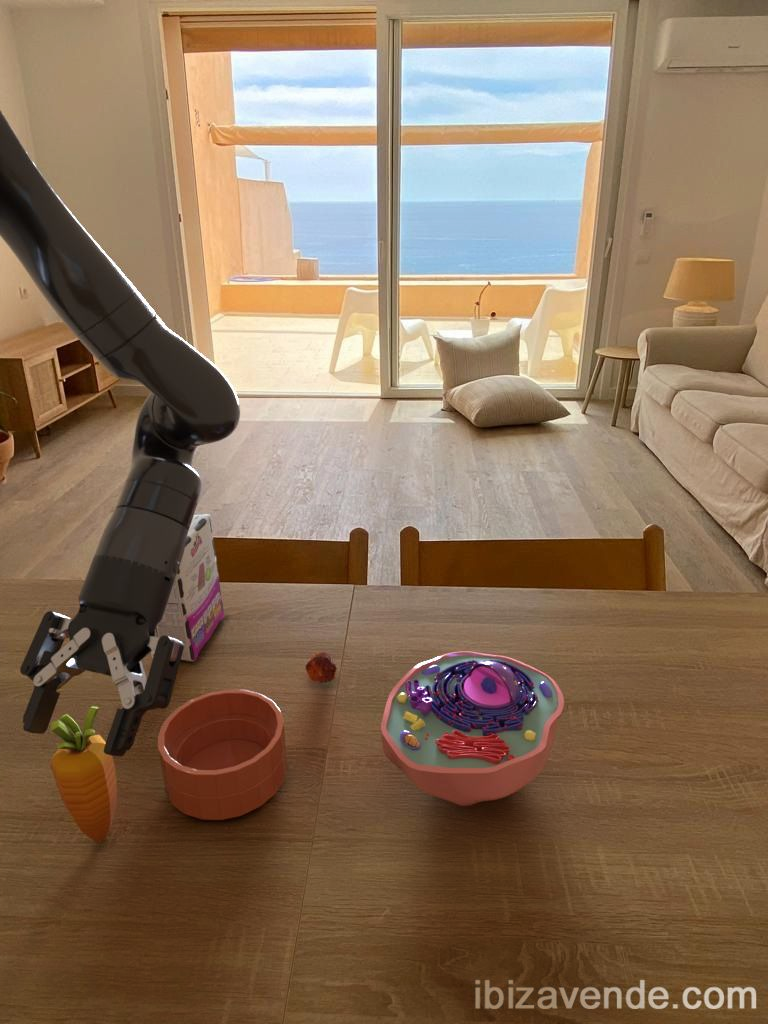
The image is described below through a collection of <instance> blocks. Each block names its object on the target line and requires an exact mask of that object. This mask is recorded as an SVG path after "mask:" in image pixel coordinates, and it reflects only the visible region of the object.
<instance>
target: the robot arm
mask: <svg viewBox="0 0 768 1024" xmlns="http://www.w3.org/2000/svg"><path fill="white" fill-rule="evenodd" d="M0 238H1V239H2V240H3V241H4V242H5V244H6V245H7V246H8V247H9V249H10V250H11V252H12V253H13V254H14V255H15V257H16V258H17V260H18V261H19V262H20V264H21V265H22V267H23V268H24V270H25V271H26V272H27V274H28V276H29V277H30V279H31V280H32V281H33V283H34V285H35V286H36V287H37V289H38V290H39V292H40V293H41V295H42V296H43V297H44V299H45V300H46V302H47V303H48V304H49V306H50V307H51V309H52V310H53V311H54V312H55V314H57V316H58V317H59V319H60V320H61V321H62V322H63V323H64V325H65V326H66V327H67V328H68V329H69V330H70V331H71V332H72V334H73V335H74V336H75V337H76V338H77V339H78V340H79V341H80V343H81V344H82V345H83V346H84V347H85V348H86V349H87V350H88V351H89V353H90V354H92V356H93V357H94V358H95V359H97V361H98V362H99V363H100V365H101V366H102V367H103V368H104V369H105V370H106V371H107V372H108V373H110V374H111V375H112V376H113V377H115V378H117V379H119V380H125V381H132V382H133V381H134V382H137V383H139V384H141V385H143V387H144V388H146V389H147V390H148V391H149V392H150V393H149V394H148V395H147V396H146V398H145V400H144V402H143V404H142V406H141V408H140V410H139V413H138V416H137V419H136V423H135V429H134V437H133V445H132V452H131V463H130V464H131V465H130V470H129V472H128V475H126V476H127V477H126V479H125V481H124V484H123V486H122V490H121V492H120V495H119V497H118V500H117V502H116V505H115V507H114V511H113V512H112V515H111V517H110V518H109V520H108V522H107V524H106V525H105V528H104V529H103V531H102V534H101V537H100V539H99V542H98V545H97V547H96V550H95V552H94V555H93V558H92V560H91V563H90V565H89V568H88V571H87V573H86V576H85V579H84V581H83V584H82V587H81V589H80V592H79V595H78V602H79V609H78V611H77V613H76V614H75V616H74V617H72V618H71V617H68V616H66V615H63V614H61V613H57V612H55V611H51V610H48V611H46V612H45V613H44V614H43V616H42V618H41V620H40V623H39V626H38V628H37V630H36V632H35V634H34V637H33V638H32V641H31V644H30V646H29V648H28V650H27V652H26V654H25V657H24V659H23V661H22V663H21V666H20V669H19V671H20V674H21V675H23V676H26V677H27V678H29V680H31V681H32V683H33V690H32V693H31V695H30V698H29V701H28V703H27V706H26V707H25V709H26V710H25V711H24V714H23V716H22V723H23V726H22V728H23V731H24V732H28V733H32V734H39V735H43V734H45V733H46V731H47V730H48V727H49V725H50V722H51V720H52V717H53V715H54V712H55V708H56V706H57V704H58V700H59V698H60V695H61V692H59V691H58V690H60V689H61V688H63V687H64V686H65V685H66V684H67V683H68V682H69V681H70V680H71V679H73V678H74V677H76V676H80V675H82V674H83V673H85V671H88V672H91V673H96V674H100V675H101V674H102V675H104V676H109V677H111V679H112V682H113V684H114V685H115V686H116V687H117V691H118V695H119V699H120V703H121V706H122V708H117V709H116V711H115V712H116V713H115V715H114V718H113V721H112V724H111V727H110V731H109V732H108V735H107V738H106V741H105V742H106V744H105V747H104V753H105V754H108V755H112V756H113V757H123V756H124V755H125V754H126V753H127V751H130V750H131V749H132V747H133V746H134V742H135V740H136V738H137V734H138V730H139V727H140V724H141V721H142V719H143V716H144V714H145V713H146V712H148V711H151V710H157V709H159V710H164V709H167V708H168V707H169V705H170V702H171V699H172V696H173V690H174V688H175V684H176V679H177V675H178V672H179V668H180V665H181V657H182V653H183V649H184V644H183V643H182V642H181V641H178V640H177V639H175V638H172V637H168V636H162V637H157V636H156V626H157V624H158V623H159V622H160V621H161V620H162V617H163V614H164V611H165V608H166V605H167V602H168V599H169V596H170V593H171V590H172V588H173V585H174V582H175V578H176V575H177V572H178V570H179V566H180V563H181V560H182V557H183V554H184V549H185V544H186V538H187V534H188V531H189V528H190V525H191V522H192V519H193V516H194V514H196V510H197V507H198V505H199V501H200V497H201V494H202V493H201V492H202V489H203V485H202V483H203V482H202V478H201V476H200V475H199V474H198V472H197V471H196V470H195V469H194V468H192V465H193V459H194V454H195V452H196V450H197V448H198V447H200V446H203V445H208V444H209V445H210V444H213V443H217V442H221V441H222V440H225V439H227V438H228V437H229V436H231V435H232V434H233V433H234V432H235V430H236V429H237V427H238V426H239V423H240V419H241V406H240V401H239V398H238V396H237V392H236V391H235V389H234V387H233V385H232V384H231V382H230V381H229V379H228V378H227V377H226V375H224V373H223V372H222V371H221V370H220V369H219V368H218V367H217V366H216V365H215V364H214V363H213V362H212V361H210V359H208V358H206V356H204V355H203V354H202V353H200V352H199V351H198V350H196V348H195V347H193V346H192V345H191V344H189V343H188V342H187V341H185V340H184V339H183V338H182V337H180V336H179V335H178V334H176V333H175V332H173V331H172V330H171V329H169V328H168V327H167V326H166V324H165V323H164V322H163V321H162V319H161V318H160V317H159V315H158V314H157V313H156V312H155V310H154V309H153V308H152V307H151V306H150V304H149V303H148V302H147V301H146V299H145V298H144V297H143V296H142V294H141V293H140V292H139V291H138V290H137V288H136V287H135V285H133V283H132V282H131V281H130V280H129V279H128V278H127V276H125V274H124V273H123V272H122V271H121V269H120V268H119V267H118V266H117V265H116V263H115V262H114V261H113V260H112V258H110V257H109V256H108V254H107V253H106V252H105V250H103V249H102V247H101V246H100V245H99V244H98V243H97V241H96V240H94V238H93V237H92V236H91V234H90V233H88V232H87V230H86V229H85V227H83V225H82V224H81V223H80V222H79V221H78V220H77V218H76V217H75V216H74V215H73V214H72V212H71V211H70V210H69V208H68V207H67V206H66V205H65V204H64V202H63V201H62V200H61V199H60V197H59V195H57V193H56V192H55V191H54V189H53V188H52V187H51V185H50V184H49V183H48V181H47V180H46V178H45V177H44V175H43V174H42V173H41V171H40V169H38V167H37V166H36V164H35V163H34V161H33V160H32V158H31V157H30V155H29V154H28V152H27V150H26V149H25V147H24V146H23V144H22V142H21V141H20V140H19V138H18V136H17V134H16V132H15V131H14V129H13V128H12V126H11V124H10V123H9V121H8V120H7V118H6V116H5V114H4V113H3V111H2V109H1V108H0ZM66 639H69V642H67V643H66V644H65V645H64V646H63V643H64V641H65V640H66ZM148 654H150V657H151V659H152V661H151V664H150V668H149V672H148V675H146V672H145V668H144V665H143V661H142V660H143V659H144V658H145V657H147V656H148Z"/></svg>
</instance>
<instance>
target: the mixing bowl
mask: <svg viewBox="0 0 768 1024" xmlns="http://www.w3.org/2000/svg"><path fill="white" fill-rule="evenodd" d="M286 744H287V743H286V735H285V723H284V718H283V713H282V710H280V708H279V707H278V706H277V704H276V703H275V701H273V700H272V699H270V698H269V697H267V696H265V695H263V694H261V693H259V692H255V691H252V690H251V691H250V690H247V689H223V690H217V691H211V692H207V693H205V694H201V695H199V696H197V697H194V698H192V699H190V700H188V701H187V702H184V703H183V704H182V705H180V706H178V707H177V708H175V709H174V711H173V712H171V714H170V715H169V716H168V717H167V718H165V720H164V722H163V723H162V726H161V728H160V729H159V731H158V734H157V751H158V756H159V762H160V767H161V772H162V773H161V774H162V779H163V783H164V789H165V793H166V795H167V797H168V799H169V801H170V804H171V805H172V806H174V808H175V809H177V810H178V811H180V812H181V813H182V814H184V815H187V816H188V817H189V816H190V817H193V818H196V819H199V820H204V821H205V820H208V821H210V820H211V821H224V820H228V819H233V818H237V817H241V816H244V815H246V814H248V813H251V812H252V811H255V810H256V809H258V808H261V806H263V805H264V804H266V802H268V801H269V800H270V799H271V798H272V797H273V796H275V795H276V794H277V792H278V790H279V789H280V787H281V786H282V785H283V783H284V781H285V780H286V775H287V770H288V756H287V746H286Z"/></svg>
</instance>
